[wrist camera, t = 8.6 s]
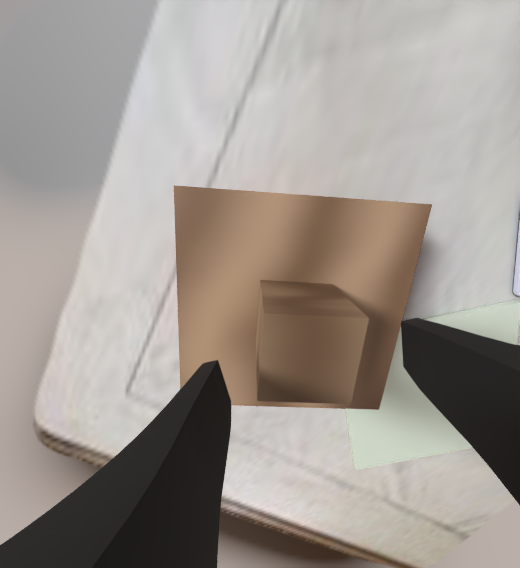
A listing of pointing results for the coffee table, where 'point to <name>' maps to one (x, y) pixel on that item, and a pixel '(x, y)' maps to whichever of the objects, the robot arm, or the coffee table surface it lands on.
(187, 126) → the coffee table surface
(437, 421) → the mat
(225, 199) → the lid
